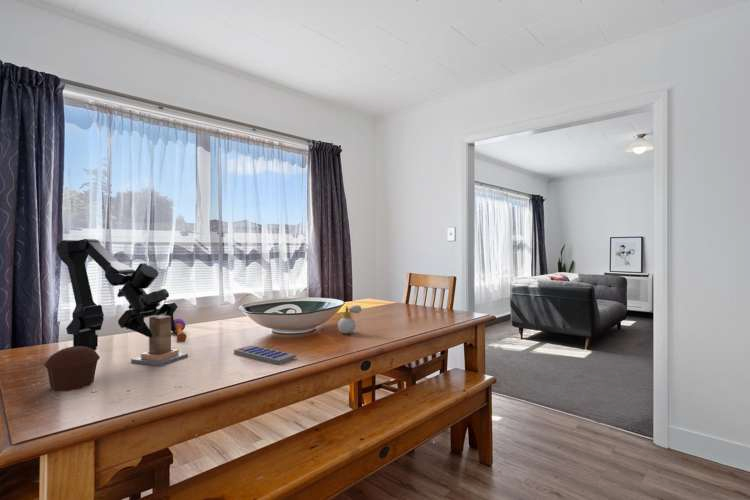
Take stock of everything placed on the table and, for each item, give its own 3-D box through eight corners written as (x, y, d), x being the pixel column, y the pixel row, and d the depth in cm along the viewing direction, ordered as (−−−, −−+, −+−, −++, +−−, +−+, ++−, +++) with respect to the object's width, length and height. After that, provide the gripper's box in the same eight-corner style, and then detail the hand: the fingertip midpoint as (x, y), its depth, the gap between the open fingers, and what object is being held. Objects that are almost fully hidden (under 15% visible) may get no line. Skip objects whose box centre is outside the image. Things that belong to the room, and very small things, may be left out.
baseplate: (131, 362, 123) (131, 354, 123) (159, 353, 134) (159, 345, 134) (160, 366, 120) (160, 358, 120) (187, 356, 130) (187, 349, 130)
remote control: (278, 366, 123) (278, 359, 123) (231, 354, 134) (231, 348, 134) (295, 360, 130) (295, 353, 129) (249, 349, 141) (249, 343, 141)
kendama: (171, 332, 148) (167, 319, 165) (175, 346, 149) (170, 332, 166) (188, 327, 151) (182, 315, 168) (191, 342, 152) (185, 328, 169)
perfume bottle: (334, 332, 167) (334, 305, 167) (353, 329, 173) (353, 303, 172) (343, 336, 161) (344, 307, 161) (363, 333, 167) (363, 305, 167)
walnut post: (149, 357, 125) (149, 317, 125) (160, 353, 129) (160, 315, 129) (159, 358, 124) (160, 318, 124) (170, 355, 128) (171, 316, 128)
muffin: (54, 397, 95) (54, 357, 95) (37, 387, 101) (36, 349, 101) (107, 382, 105) (107, 346, 105) (89, 374, 111) (89, 340, 111)
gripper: (125, 284, 118) (153, 323, 115) (173, 279, 136) (199, 312, 133) (105, 308, 121) (132, 346, 118) (156, 300, 139) (180, 333, 136)
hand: (163, 333), depth 126 cm, fingers open, 9 cm apart
